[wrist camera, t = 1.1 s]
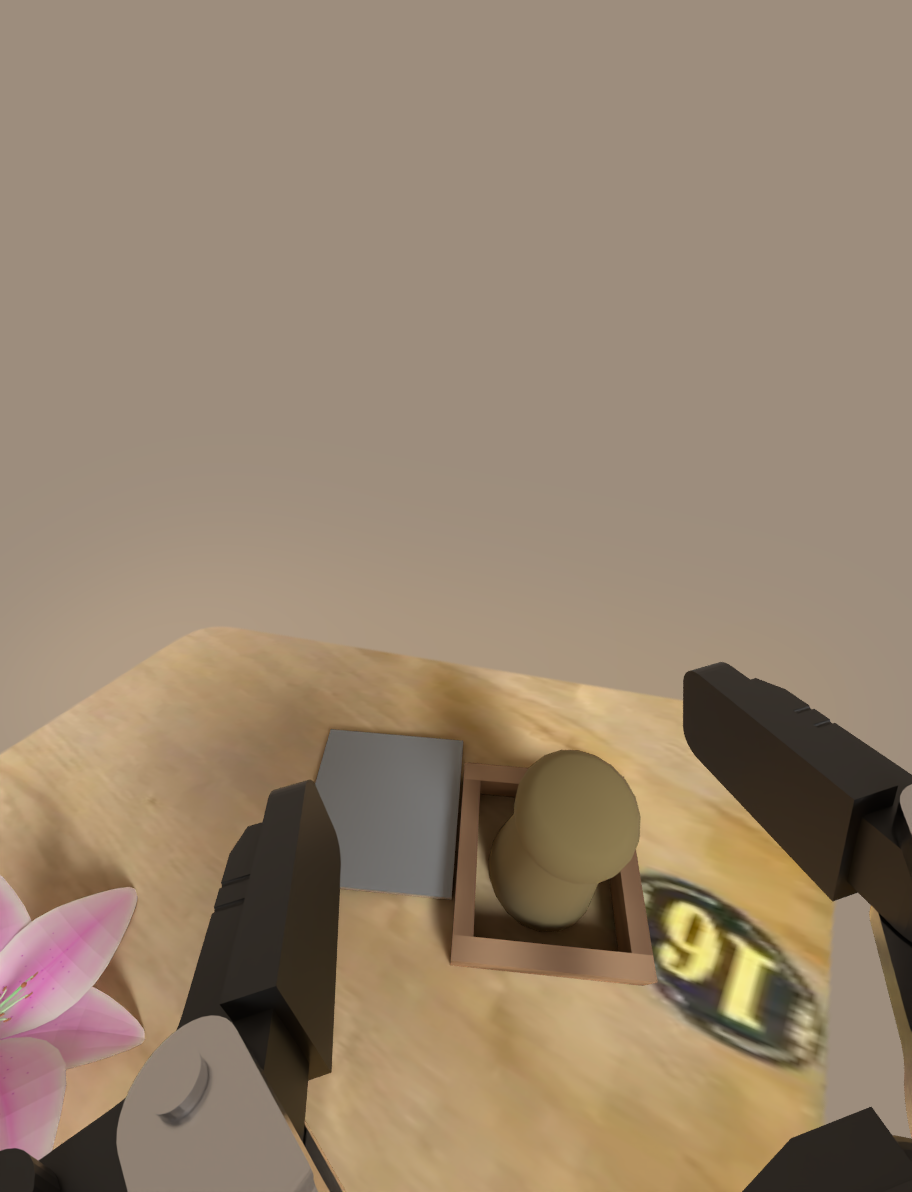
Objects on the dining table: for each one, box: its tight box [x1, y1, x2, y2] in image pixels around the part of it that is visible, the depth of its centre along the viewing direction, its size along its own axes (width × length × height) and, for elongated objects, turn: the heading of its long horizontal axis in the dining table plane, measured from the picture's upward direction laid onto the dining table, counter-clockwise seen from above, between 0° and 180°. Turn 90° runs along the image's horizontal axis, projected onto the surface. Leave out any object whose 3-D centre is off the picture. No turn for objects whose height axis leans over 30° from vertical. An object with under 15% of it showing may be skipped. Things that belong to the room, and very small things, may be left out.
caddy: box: [450, 763, 657, 986], centre depth 26 cm, size 10×10×2 cm
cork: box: [489, 750, 640, 932], centre depth 23 cm, size 6×6×11 cm
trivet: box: [315, 729, 463, 900], centre depth 29 cm, size 9×9×1 cm
